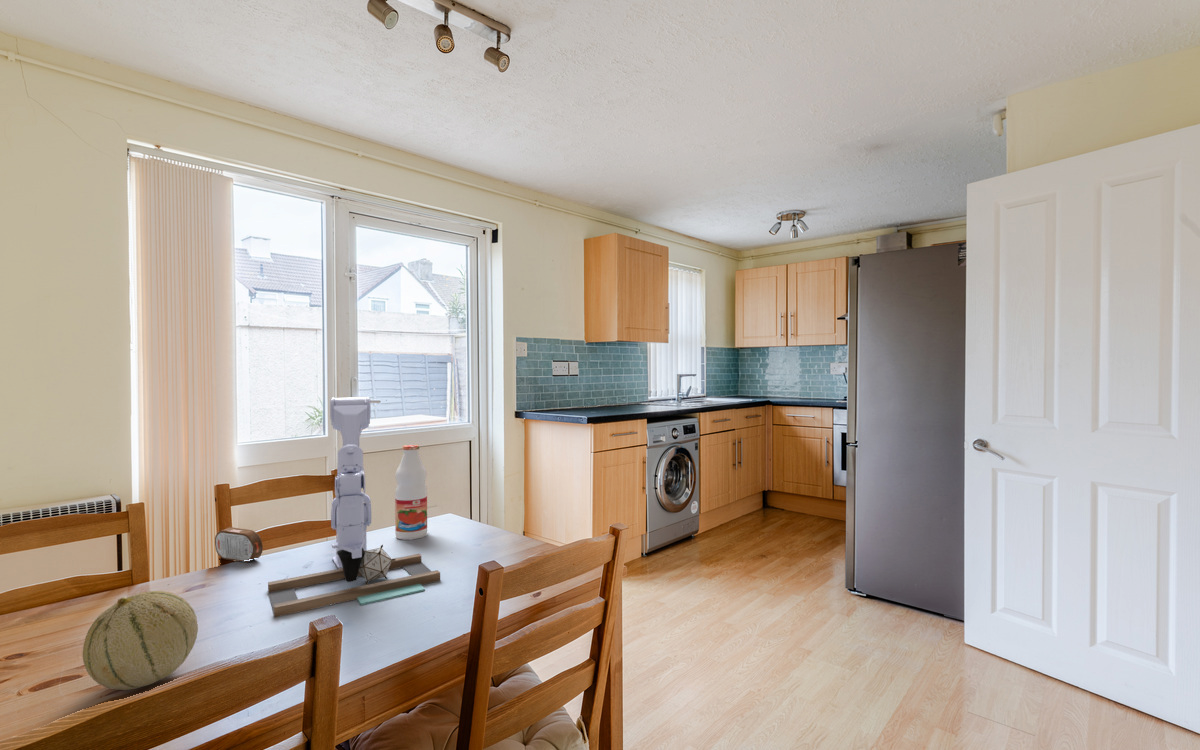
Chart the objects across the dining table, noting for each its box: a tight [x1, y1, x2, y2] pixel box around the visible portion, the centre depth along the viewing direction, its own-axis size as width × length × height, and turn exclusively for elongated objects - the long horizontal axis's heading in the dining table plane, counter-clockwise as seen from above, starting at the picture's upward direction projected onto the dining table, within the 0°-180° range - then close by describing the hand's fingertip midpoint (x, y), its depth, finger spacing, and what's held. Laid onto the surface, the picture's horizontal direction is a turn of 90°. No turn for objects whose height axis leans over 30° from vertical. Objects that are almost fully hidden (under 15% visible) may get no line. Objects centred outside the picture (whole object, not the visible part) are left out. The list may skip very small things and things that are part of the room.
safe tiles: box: [356, 584, 426, 606], centre depth 137 cm, size 25×14×1 cm, turn 35°
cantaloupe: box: [82, 590, 199, 691], centre depth 92 cm, size 15×15×15 cm
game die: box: [359, 544, 396, 585], centre depth 137 cm, size 9×8×10 cm
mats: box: [268, 561, 432, 613], centre depth 133 cm, size 13×35×1 cm, turn 125°
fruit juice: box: [394, 444, 428, 541], centre depth 173 cm, size 9×9×28 cm
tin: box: [214, 526, 264, 563], centre depth 152 cm, size 15×3×8 cm, turn 71°
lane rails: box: [267, 553, 441, 618], centre depth 133 cm, size 17×35×2 cm, turn 125°
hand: (351, 580), depth 133 cm, fingers closed, pressing on game die
